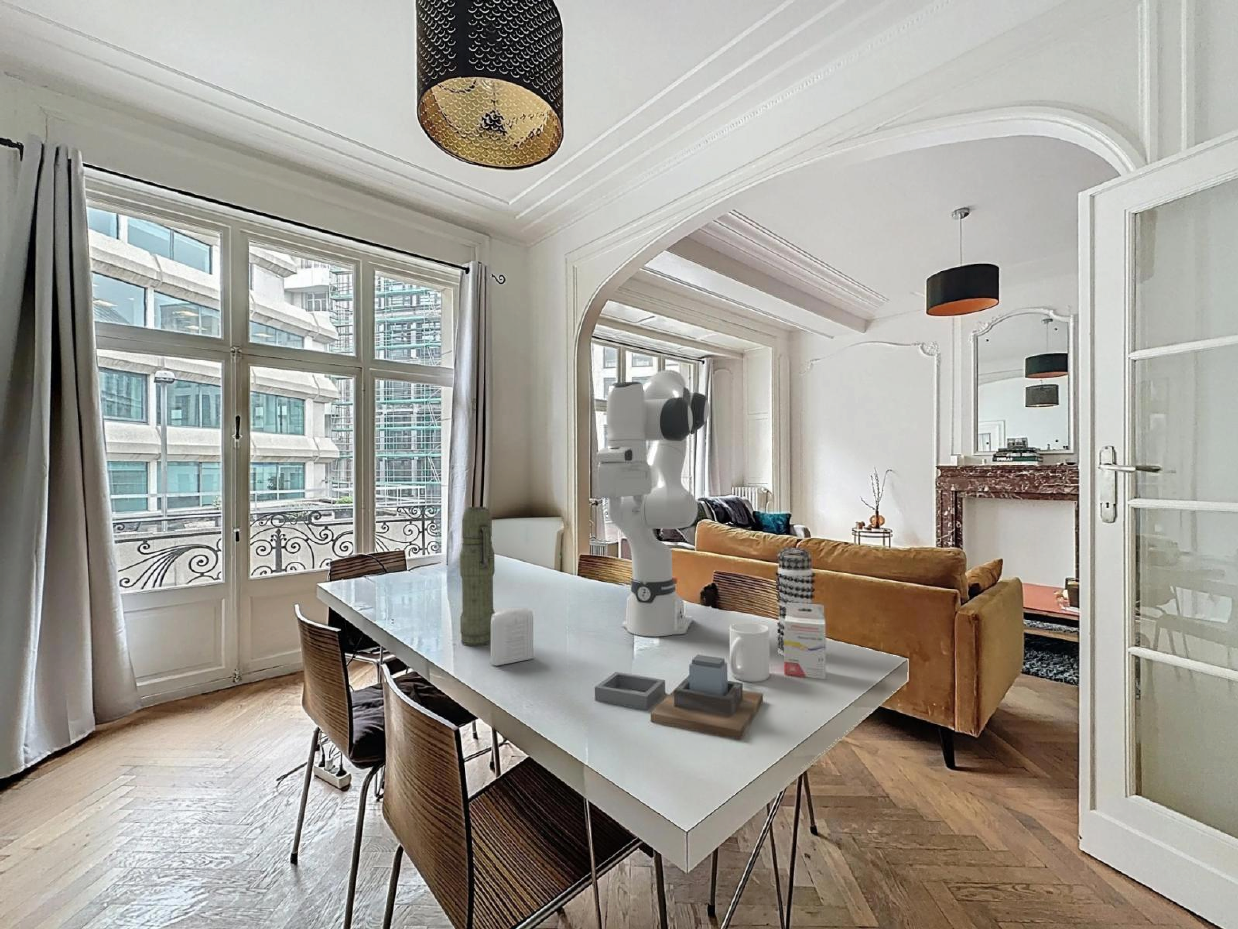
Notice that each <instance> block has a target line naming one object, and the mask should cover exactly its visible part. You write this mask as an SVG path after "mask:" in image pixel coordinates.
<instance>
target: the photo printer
mask: <svg viewBox="0 0 1238 929" xmlns="http://www.w3.org/2000/svg"><path fill="white" fill-rule="evenodd" d="M532 659H534V613H533V611H532V609H530V608H528V607H527V608H526V607H519V606H518V607H517V606H516V607H508V608H504V609H502V610H499V611H497V612H495V614H493V615H492V617H491V643H490V664H491V665H492V666H502V665H503V666H504V665H508V664H513V663H518V662H523V661H527V660H532Z"/></svg>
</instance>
